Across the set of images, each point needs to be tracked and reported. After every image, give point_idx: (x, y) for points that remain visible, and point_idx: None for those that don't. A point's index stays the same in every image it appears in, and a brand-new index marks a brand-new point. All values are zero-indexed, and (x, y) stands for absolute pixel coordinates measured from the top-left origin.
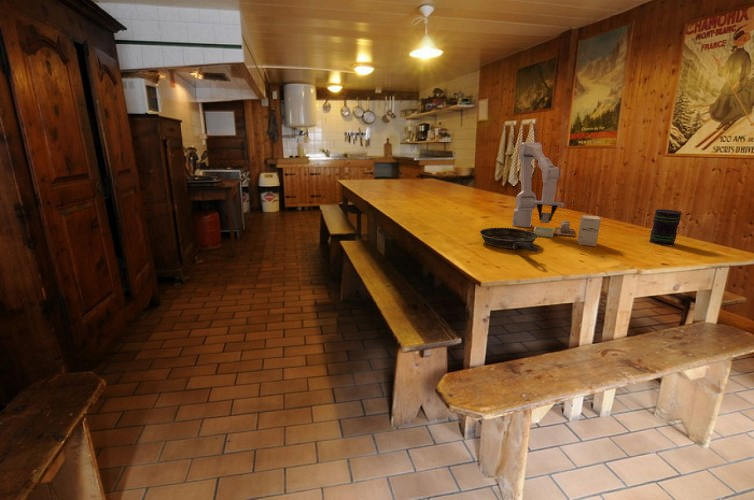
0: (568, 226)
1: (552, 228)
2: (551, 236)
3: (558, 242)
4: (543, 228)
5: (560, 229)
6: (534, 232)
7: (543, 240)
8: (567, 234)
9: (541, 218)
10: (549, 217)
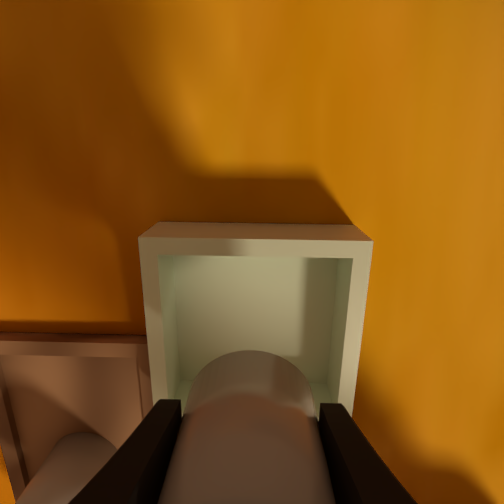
0: (19, 497)
1: None
2: (169, 224)
3: (75, 16)
4: None
5: None
6: (352, 232)
7: (241, 38)
8: (47, 381)
9: (317, 428)
10: (173, 451)
